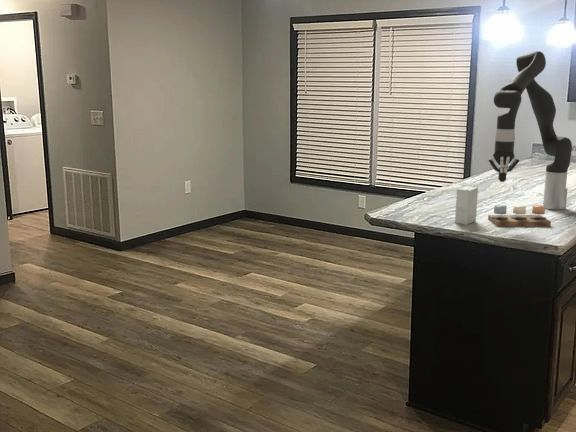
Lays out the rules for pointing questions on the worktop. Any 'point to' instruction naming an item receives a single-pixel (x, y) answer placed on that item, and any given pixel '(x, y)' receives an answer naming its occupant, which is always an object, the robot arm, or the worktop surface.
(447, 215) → the worktop surface
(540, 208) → the button terracotta
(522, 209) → the button cream
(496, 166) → the robot arm
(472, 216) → the skincare box
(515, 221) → the board
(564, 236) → the worktop surface
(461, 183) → the worktop surface
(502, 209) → the button slate
